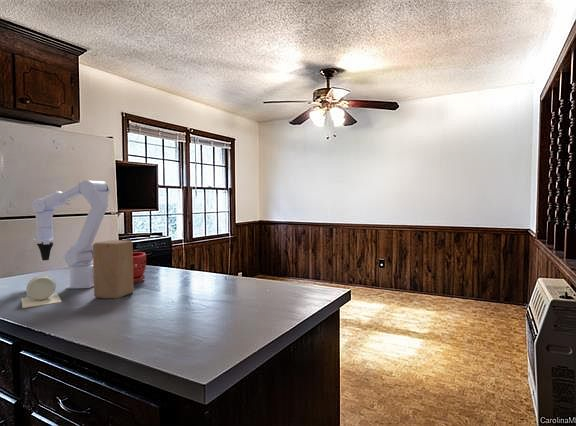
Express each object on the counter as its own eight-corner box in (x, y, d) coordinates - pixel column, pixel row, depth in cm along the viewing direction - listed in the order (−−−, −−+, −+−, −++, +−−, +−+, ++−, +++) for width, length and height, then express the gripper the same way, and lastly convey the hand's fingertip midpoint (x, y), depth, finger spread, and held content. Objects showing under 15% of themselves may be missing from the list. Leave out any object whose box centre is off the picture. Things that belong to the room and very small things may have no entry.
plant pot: (113, 280, 162) (113, 253, 162) (145, 277, 168) (144, 251, 167) (113, 286, 150) (112, 257, 150) (147, 283, 156) (147, 254, 155)
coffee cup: (57, 284, 141) (62, 288, 131) (36, 300, 136) (39, 306, 127) (40, 268, 138) (44, 270, 128) (18, 284, 133) (20, 288, 124)
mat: (21, 299, 132) (21, 298, 132) (57, 294, 138) (57, 293, 138) (22, 308, 121) (22, 307, 121) (61, 302, 127) (61, 301, 127)
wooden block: (117, 299, 130) (116, 243, 129) (93, 298, 132) (91, 242, 131) (134, 292, 140) (133, 240, 139) (111, 291, 142) (110, 239, 141)
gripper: (31, 227, 156) (32, 258, 157) (33, 229, 145) (34, 263, 145) (51, 226, 160) (52, 257, 161) (55, 228, 149) (56, 261, 149)
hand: (45, 260), depth 153 cm, fingers closed
